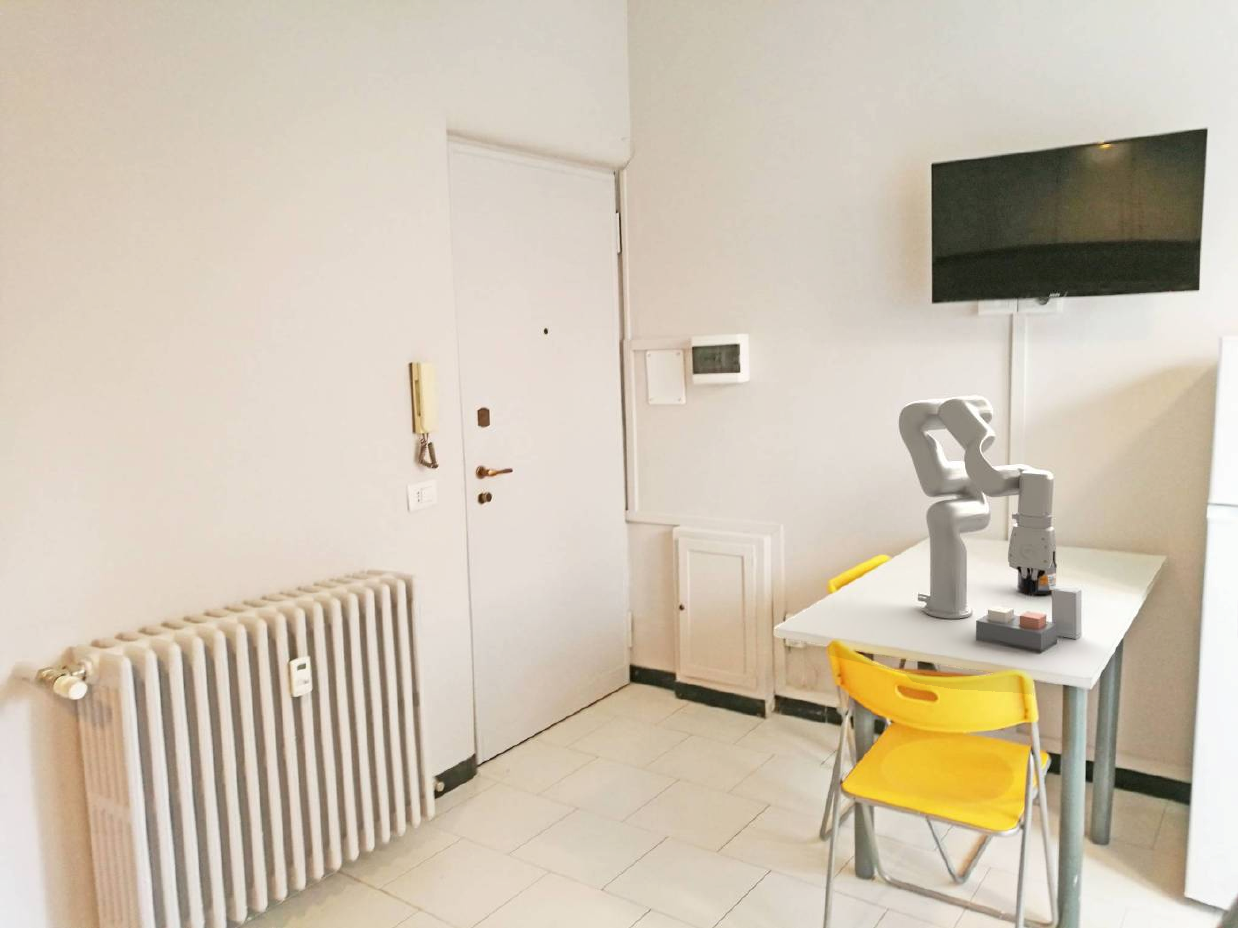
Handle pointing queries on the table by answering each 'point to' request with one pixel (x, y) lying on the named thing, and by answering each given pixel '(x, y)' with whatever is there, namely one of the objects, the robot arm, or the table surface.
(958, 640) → the table surface
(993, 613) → the ivory key
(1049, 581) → the supplement container
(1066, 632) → the skincare box
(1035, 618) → the brick key
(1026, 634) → the key housing
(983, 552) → the table surface
